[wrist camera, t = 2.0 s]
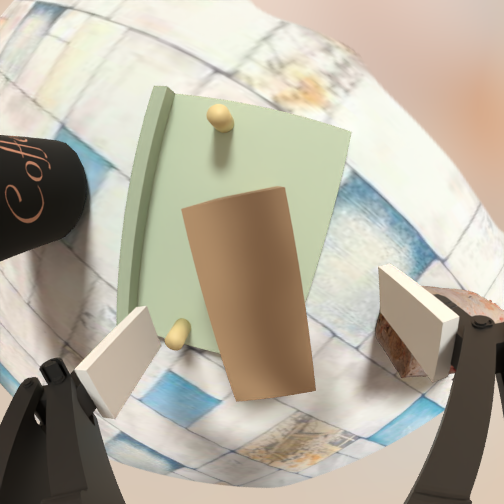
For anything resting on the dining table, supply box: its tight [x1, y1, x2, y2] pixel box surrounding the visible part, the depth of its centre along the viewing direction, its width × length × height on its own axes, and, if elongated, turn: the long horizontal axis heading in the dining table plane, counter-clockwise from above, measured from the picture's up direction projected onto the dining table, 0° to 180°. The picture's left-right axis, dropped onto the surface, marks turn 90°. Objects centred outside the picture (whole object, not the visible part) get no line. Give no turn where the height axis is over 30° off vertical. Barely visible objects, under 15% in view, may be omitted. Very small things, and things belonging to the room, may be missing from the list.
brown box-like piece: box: [181, 186, 316, 401], centre depth 18 cm, size 5×12×9 cm, turn 11°
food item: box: [376, 286, 504, 380], centre depth 20 cm, size 14×8×10 cm, turn 83°
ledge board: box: [117, 86, 352, 353], centre depth 22 cm, size 16×22×4 cm
